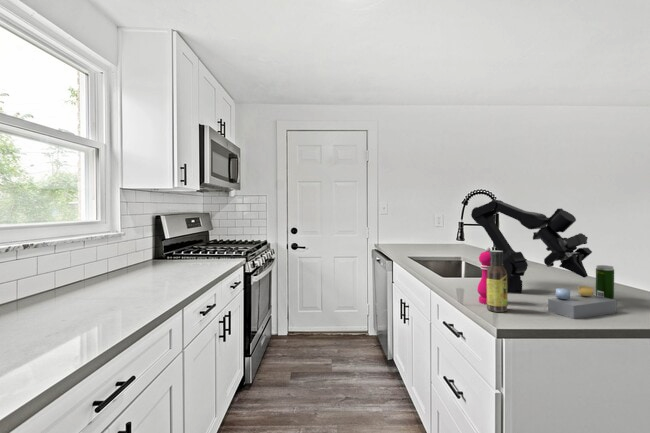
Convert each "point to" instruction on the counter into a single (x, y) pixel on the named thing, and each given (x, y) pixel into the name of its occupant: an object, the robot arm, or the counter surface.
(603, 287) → the beer can
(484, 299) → the pepper mill
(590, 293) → the amber button
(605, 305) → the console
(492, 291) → the sauce bottle
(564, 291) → the blue button
